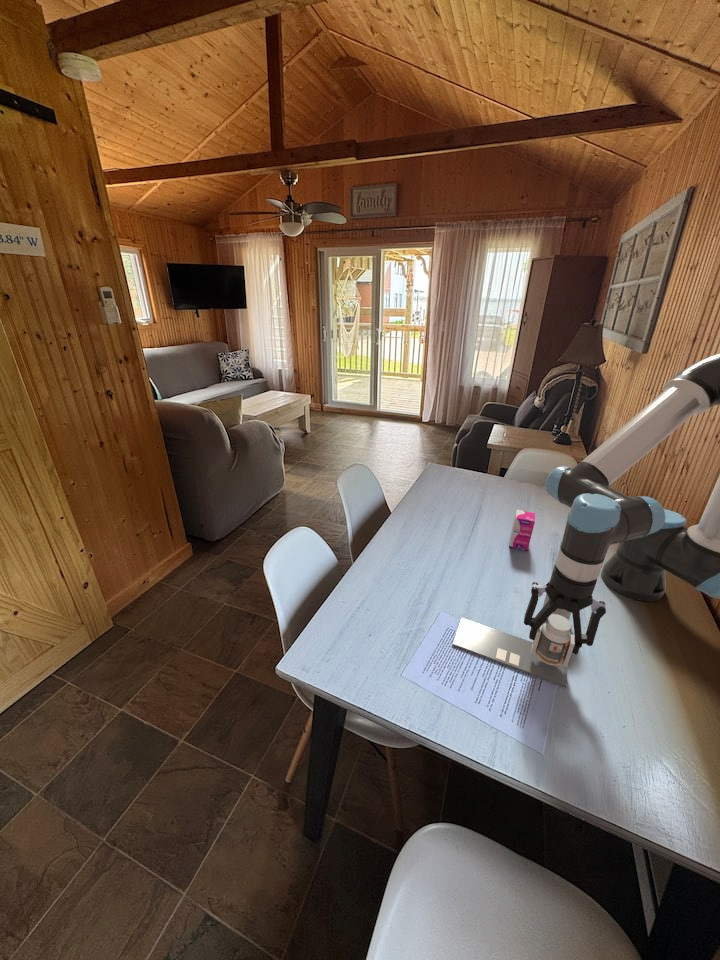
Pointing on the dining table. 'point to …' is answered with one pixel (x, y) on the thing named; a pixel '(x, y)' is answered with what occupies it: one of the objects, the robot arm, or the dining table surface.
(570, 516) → the robot arm
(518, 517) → the supplement box
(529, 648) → the slate board
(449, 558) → the dining table surface
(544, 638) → the pill bottle
